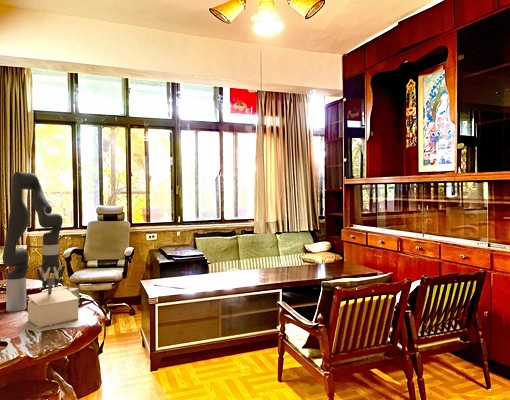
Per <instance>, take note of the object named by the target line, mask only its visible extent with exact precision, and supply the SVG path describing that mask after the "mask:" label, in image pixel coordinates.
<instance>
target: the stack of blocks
mask: <svg viewBox="0 0 510 400" xmlns="http://www.w3.org/2000/svg"><path fill="white" fill-rule="evenodd" d="M63 289H67V290H68V291H70V292H71V293H72V294H73V295H75V296H76V297H77V298H79V300H78V305H80V287H79V288H78V287H70V286H62V285H61V286H60V285H59V286H58V285H57V286H56V287H55V286H54V287H52V291H56V290H63ZM44 292H48V289H47V290H45V291H43V293H44Z"/></svg>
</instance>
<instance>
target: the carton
mask: <svg viewBox="0 0 510 400" xmlns="http://www.w3.org/2000/svg"><path fill="white" fill-rule="evenodd" d="M78 320H79V304H78V300H75V301H69V302H64V303H59V304H53V305H48V306H43V307H38V306H37V305H36V304H35V303H34V302H33V301H32V300H31V299H29V300H27V322H28V323H30V324H32V325H33V326H34V327H36V328H37V327H38V329H39V328H40V329H42V328H41V327H44V328H47V327H46V326H49V327H51V326H50V325H53V326H56V325H55V324H58V325H60V324H59V323H62V324H66V323H70V321H71V322H75V321H78ZM65 322H66V323H65Z"/></svg>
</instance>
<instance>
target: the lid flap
mask: <svg viewBox="0 0 510 400" xmlns="http://www.w3.org/2000/svg"><path fill="white" fill-rule="evenodd" d="M46 281H47V286H46V287H48V288H47V290H48V292H44V291H43V292H38V293H34V294H33V293H32V294H28V295H27V298H29V300H32V301H33V302H34V303H35V304H36V305H37V306H38V307H43V306H48V305H53V304H59V303H64V302H69V301H75V300H79V301H80V297H79V298H77V297H76V296H75V295H73V294H72V293H71V292H70V291H68V290H67V289H63V290H56V291H52V289H53V287H54V284H55V278H54V277H51V276H50V277H47V279H46Z"/></svg>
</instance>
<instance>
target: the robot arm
mask: <svg viewBox="0 0 510 400" xmlns="http://www.w3.org/2000/svg"><path fill="white" fill-rule="evenodd" d="M23 190H27V191H28V190H30V191H32V192H33V197H32V198H31V204H32V208H33V209H34V211H35V212H36V214H37V218H38V219H37V220H38V224H39V226H40V227H42V228H44V229H50V230H49V231H47V232H45V233H43V235H42V247H41V255H42V256H41V265H40V267H38V268H37V267H35V268H34V270H35V274H36V276H37V280H39V281H41V283H42V288H44V289H47V287H48V286H47V281H46V279H47V278H48V276H49V274H52V275H53V278H54V279H55V284H54V285H53V287H54V288H55V287H58V285H59V279H60V278H62V277H63V275H64V272H65V269H66V265H63V264H60V246H59V238H60V236H59V235H60V231H61V229H62V226H63V216H62V214H60V213H52V211H53V208H52V206H51V204H50V202H49V201H48V199H47V198H46V197H45V196H46V195H45V194H44V191H43V188H42V185H41V184H40V180H39V178H38V176H37V175H36V174H35V172H24V171H15V172H14V174H12V178H11V200H10V207H9V208H10V209H9V215H8V221H7V222H8V224H7V234H6V240H5V244H4V248H3V253H2V263H3V265H4V266H5V267H14V268H12V270H10V271H9V272H7V273H6V274H5V275H6V283H5V284H6V290H5V291H6V300H5V301H6V304H5V305H6V306H5V308H6V309H5V310H6V312H9V313H11V312H20V311H24V310H25V309H27V273H28V269H29V268H28V267H29V266H28V265H29V253H28V250H27V249H26V248H24V247H19V248H18V247H17V246H18V242H19V240H20V238H21V237H22V235H23V234H24V233H25V232H26V231H27V228H28V227H29V220H30V211H29V209H28V207H27V206H26V204H25V202H24V200H23V196H22V193H23V192H22V191H23ZM58 269H59V271H58ZM42 271H43V273H41V272H42Z"/></svg>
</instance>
